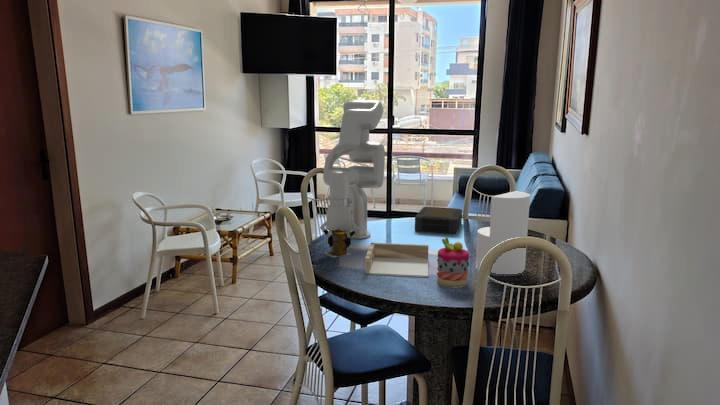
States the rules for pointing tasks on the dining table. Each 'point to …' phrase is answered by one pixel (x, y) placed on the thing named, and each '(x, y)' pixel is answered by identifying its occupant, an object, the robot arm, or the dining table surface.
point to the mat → (399, 267)
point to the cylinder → (505, 231)
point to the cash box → (438, 220)
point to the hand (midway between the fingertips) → (339, 246)
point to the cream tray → (394, 252)
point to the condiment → (338, 244)
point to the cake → (452, 265)
